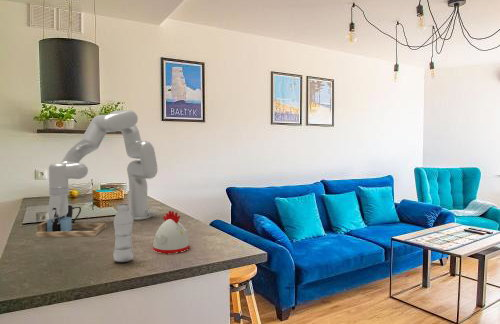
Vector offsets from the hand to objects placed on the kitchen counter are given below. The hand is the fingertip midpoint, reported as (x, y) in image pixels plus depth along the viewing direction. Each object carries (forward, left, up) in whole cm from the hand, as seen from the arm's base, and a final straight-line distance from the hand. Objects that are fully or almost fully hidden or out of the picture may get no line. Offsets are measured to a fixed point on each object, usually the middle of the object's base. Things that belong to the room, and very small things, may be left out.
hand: (59, 230), depth 160 cm
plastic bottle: (-37, +39, -2) cm, 54 cm away
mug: (+3, -18, -2) cm, 18 cm away
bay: (-6, 0, -2) cm, 6 cm away
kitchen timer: (-52, +25, -2) cm, 57 cm away
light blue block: (0, 0, -1) cm, 1 cm away
